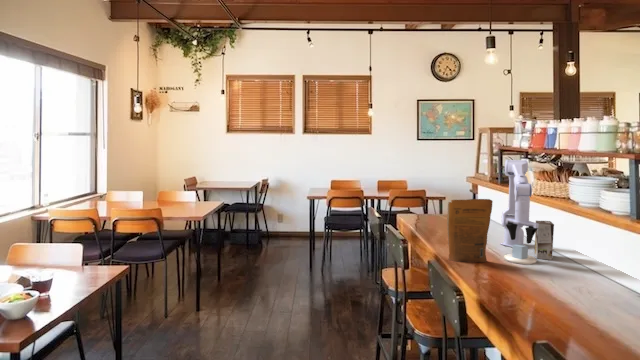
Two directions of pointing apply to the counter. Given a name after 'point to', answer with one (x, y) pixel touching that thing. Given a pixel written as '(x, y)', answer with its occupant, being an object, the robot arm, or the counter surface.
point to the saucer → (520, 261)
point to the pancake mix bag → (468, 229)
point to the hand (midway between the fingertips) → (520, 241)
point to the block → (520, 251)
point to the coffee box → (544, 240)
